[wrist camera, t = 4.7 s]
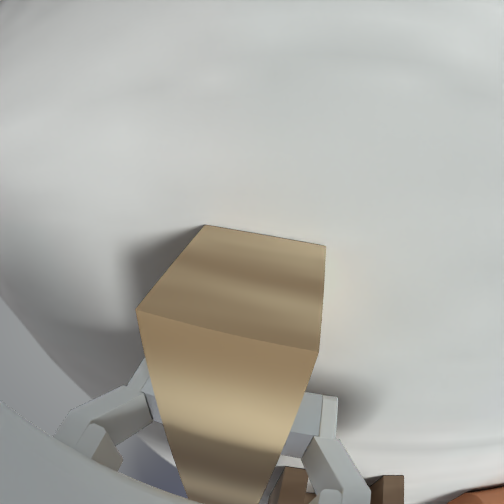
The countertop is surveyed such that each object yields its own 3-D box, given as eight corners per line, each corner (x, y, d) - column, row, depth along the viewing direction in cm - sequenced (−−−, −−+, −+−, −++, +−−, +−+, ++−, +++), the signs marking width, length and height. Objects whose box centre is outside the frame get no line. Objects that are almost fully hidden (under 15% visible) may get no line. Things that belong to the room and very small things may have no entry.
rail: (205, 224, 9) (135, 309, 6) (325, 246, 9) (319, 351, 5) (210, 449, 17) (190, 502, 13) (265, 462, 16) (250, 518, 13)
